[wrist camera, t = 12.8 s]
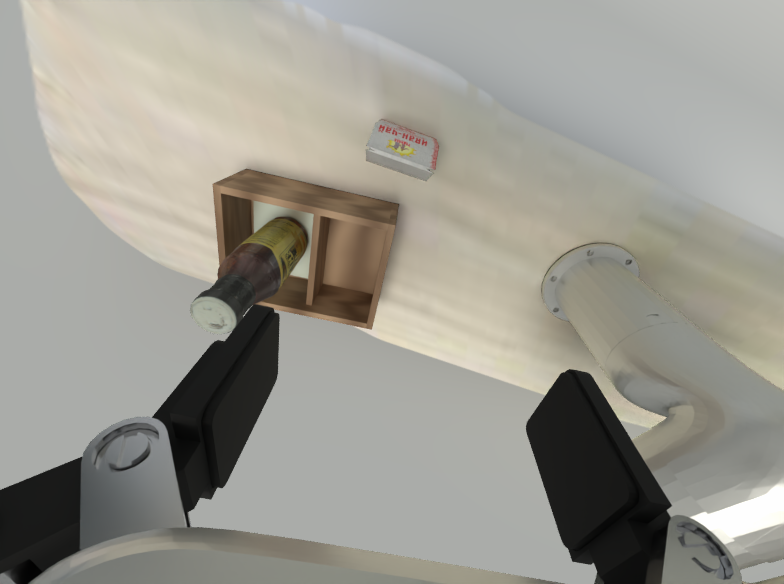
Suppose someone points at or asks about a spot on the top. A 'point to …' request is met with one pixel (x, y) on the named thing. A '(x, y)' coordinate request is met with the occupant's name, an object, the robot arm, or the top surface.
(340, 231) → the crate
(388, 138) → the printed food box
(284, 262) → the sauce bottle
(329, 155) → the top surface
